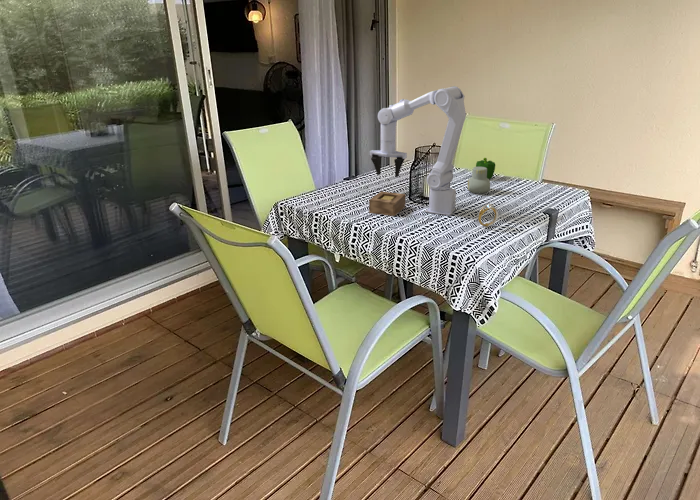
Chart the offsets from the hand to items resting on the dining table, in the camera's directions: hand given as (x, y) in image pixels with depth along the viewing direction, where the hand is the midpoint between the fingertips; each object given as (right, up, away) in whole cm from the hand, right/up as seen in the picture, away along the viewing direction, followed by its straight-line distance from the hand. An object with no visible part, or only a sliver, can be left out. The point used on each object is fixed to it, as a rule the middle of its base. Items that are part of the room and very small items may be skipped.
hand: (387, 175), depth 199 cm
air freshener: (+38, -5, +14) cm, 41 cm away
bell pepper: (+46, +3, +32) cm, 56 cm away
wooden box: (-1, -14, -6) cm, 15 cm away
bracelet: (+32, -21, -24) cm, 46 cm away
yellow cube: (-1, -13, -6) cm, 15 cm away
